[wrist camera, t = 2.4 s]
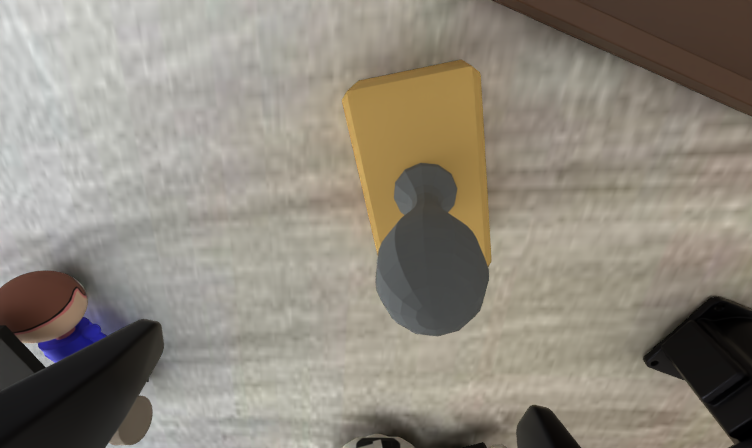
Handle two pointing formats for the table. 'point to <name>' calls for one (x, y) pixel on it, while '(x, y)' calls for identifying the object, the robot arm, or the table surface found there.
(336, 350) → the table surface
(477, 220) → the rubber stamp
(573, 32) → the tray
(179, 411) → the table surface
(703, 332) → the robot arm
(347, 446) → the robot toy
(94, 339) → the figurine character
